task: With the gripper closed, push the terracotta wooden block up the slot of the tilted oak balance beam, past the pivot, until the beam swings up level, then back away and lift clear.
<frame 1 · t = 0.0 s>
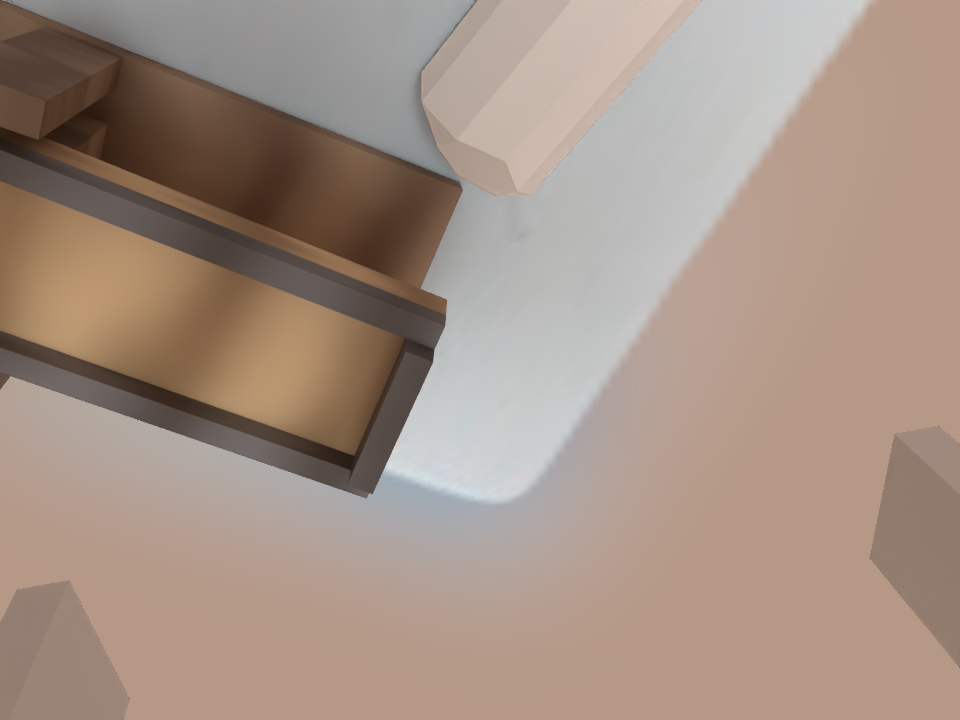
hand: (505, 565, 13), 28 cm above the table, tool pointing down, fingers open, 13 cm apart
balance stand: (66, 167, 35), on the table
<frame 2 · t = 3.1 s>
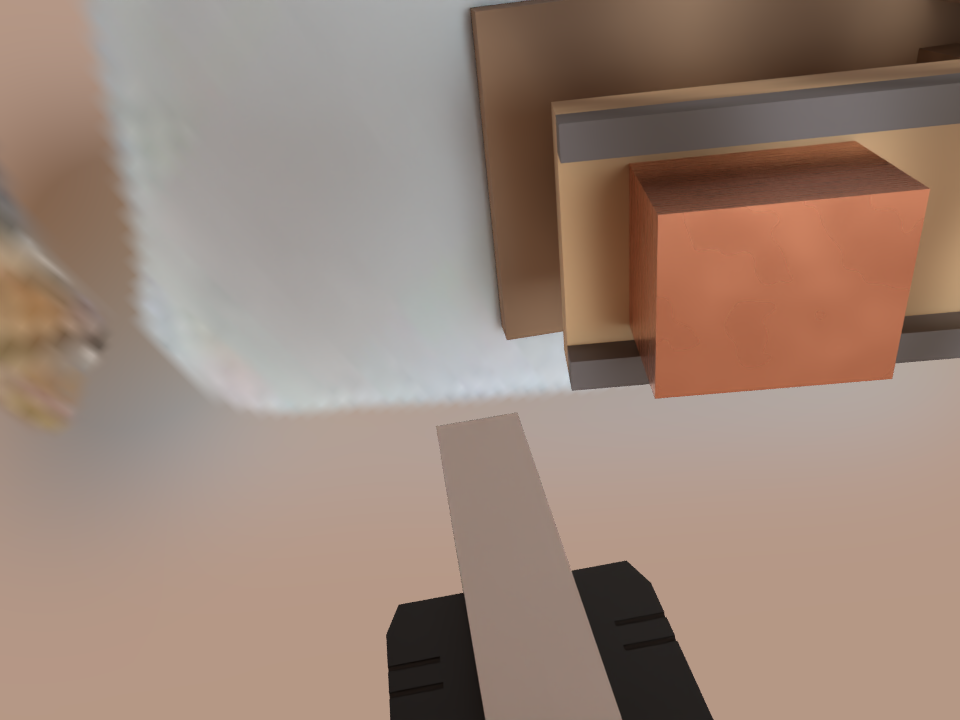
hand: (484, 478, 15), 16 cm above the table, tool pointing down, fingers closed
terracotta wooden block: (734, 239, 22), point 8 cm above the table, tilted 8°, touching beam
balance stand: (921, 121, 30), on the table
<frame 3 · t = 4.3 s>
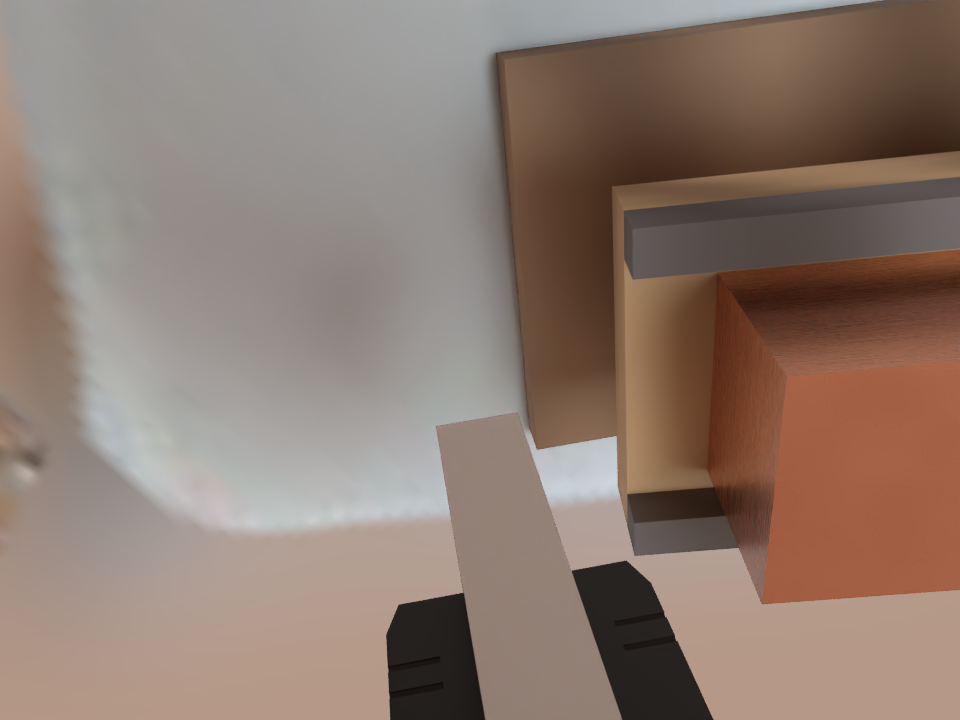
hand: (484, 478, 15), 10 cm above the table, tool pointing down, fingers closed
terracotta wooden block: (853, 366, 16), point 8 cm above the table, tilted 8°, touching beam
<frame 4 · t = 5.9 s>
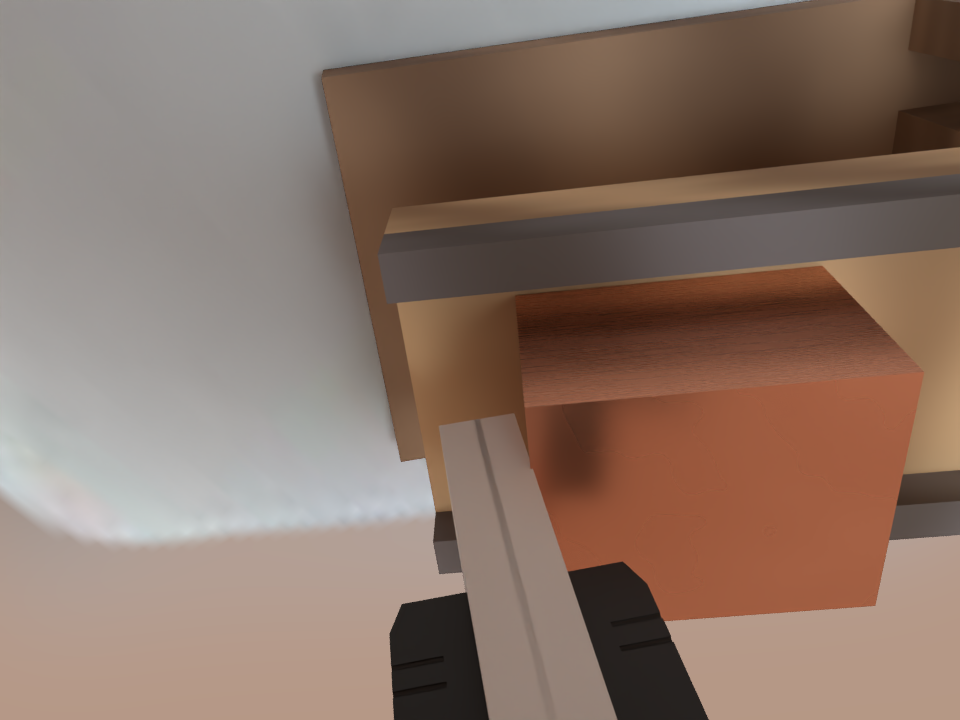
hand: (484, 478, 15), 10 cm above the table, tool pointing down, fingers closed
terracotta wooden block: (665, 387, 16), point 8 cm above the table, tilted 8°, touching gripper
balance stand: (906, 193, 24), on the table
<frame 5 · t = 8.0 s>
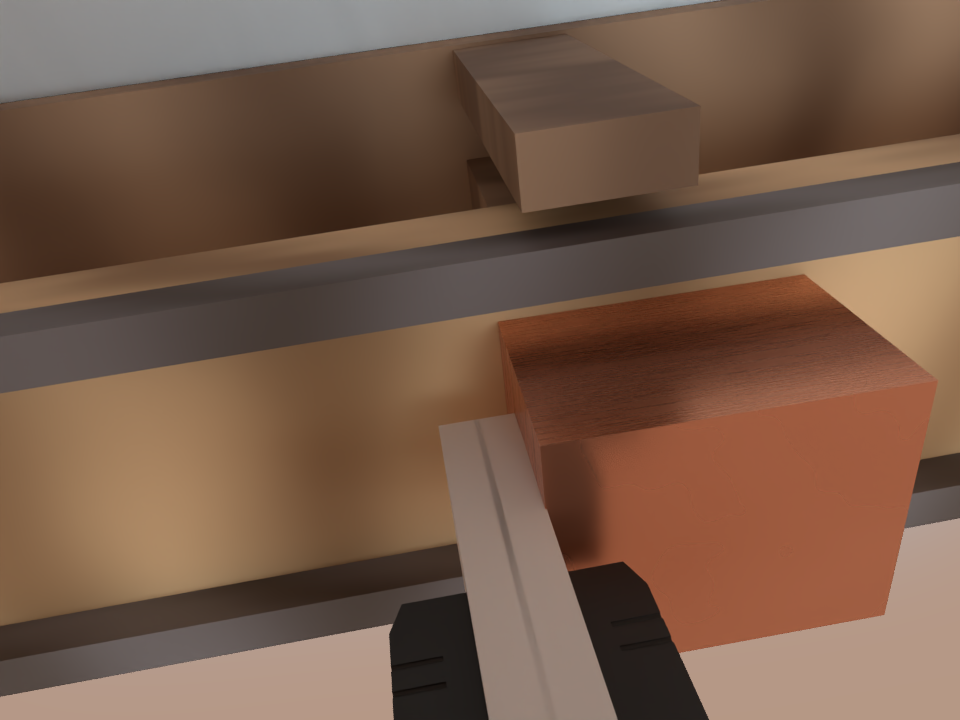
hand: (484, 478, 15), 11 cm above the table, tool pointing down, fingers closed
terracotta wooden block: (651, 406, 16), point 10 cm above the table, touching gripper
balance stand: (520, 237, 24), on the table
beam: (610, 411, 16), point 10 cm above the table, hinge at -0.1°
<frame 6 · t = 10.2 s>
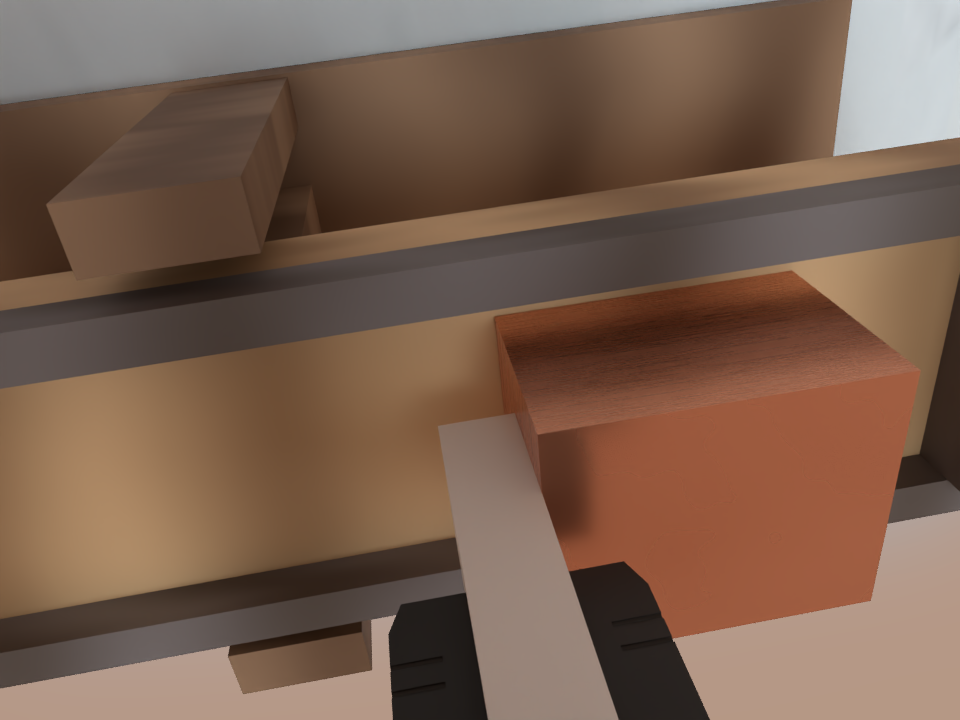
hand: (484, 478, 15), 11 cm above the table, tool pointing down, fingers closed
terracotta wooden block: (644, 400, 16), point 10 cm above the table, touching gripper
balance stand: (285, 274, 24), on the table
beam: (245, 468, 15), point 10 cm above the table, hinge at 0.2°
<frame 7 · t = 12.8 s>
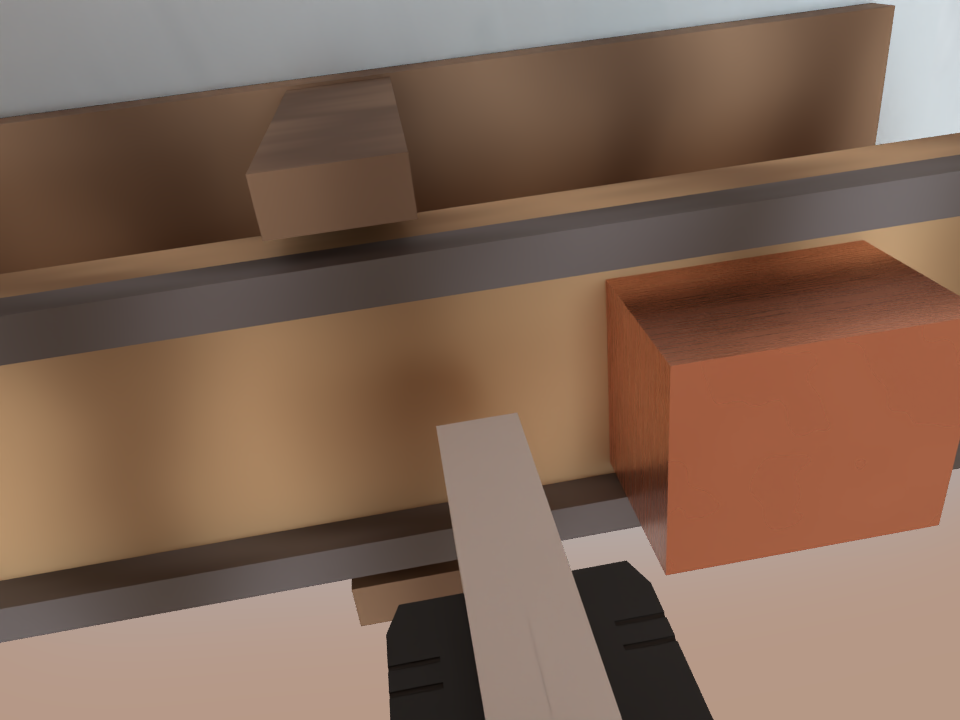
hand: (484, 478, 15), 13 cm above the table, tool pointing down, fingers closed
terracotta wooden block: (729, 356, 18), point 10 cm above the table, touching beam
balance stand: (372, 258, 26), on the table
beam: (380, 415, 18), point 10 cm above the table, hinge at 0.2°, touching terracotta wooden block
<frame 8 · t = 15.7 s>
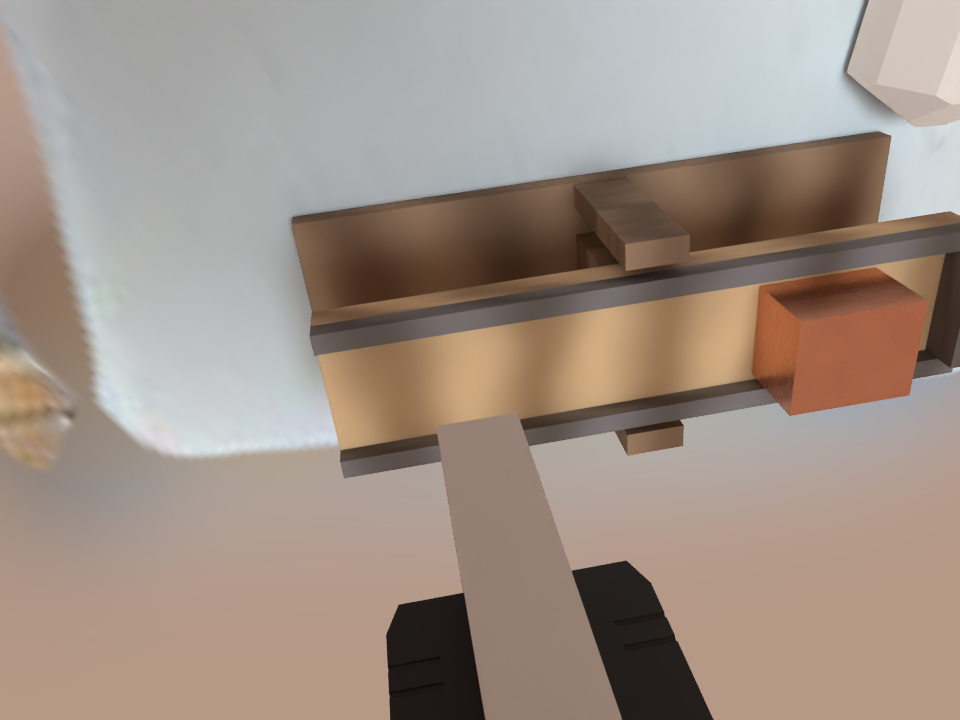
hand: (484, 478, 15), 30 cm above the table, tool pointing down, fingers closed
terracotta wooden block: (812, 321, 39), point 10 cm above the table, touching beam
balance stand: (597, 270, 47), on the table
beam: (653, 348, 38), point 10 cm above the table, hinge at 0.2°, touching terracotta wooden block
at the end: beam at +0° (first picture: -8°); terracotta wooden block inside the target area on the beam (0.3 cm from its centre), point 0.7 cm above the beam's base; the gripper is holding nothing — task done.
